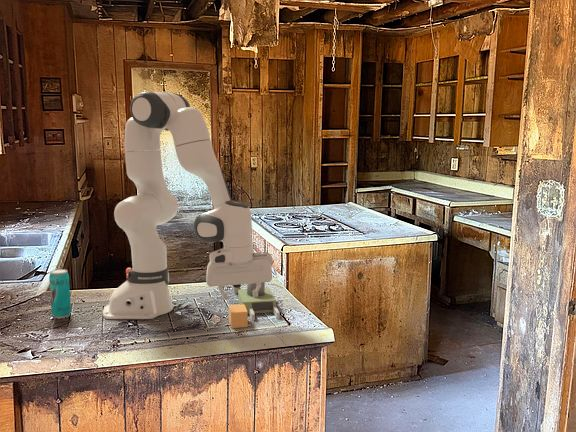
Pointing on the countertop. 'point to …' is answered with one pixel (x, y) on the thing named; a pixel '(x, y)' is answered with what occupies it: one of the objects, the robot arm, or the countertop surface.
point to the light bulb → (236, 288)
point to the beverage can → (60, 293)
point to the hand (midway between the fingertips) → (240, 297)
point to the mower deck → (258, 300)
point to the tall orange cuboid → (238, 316)
